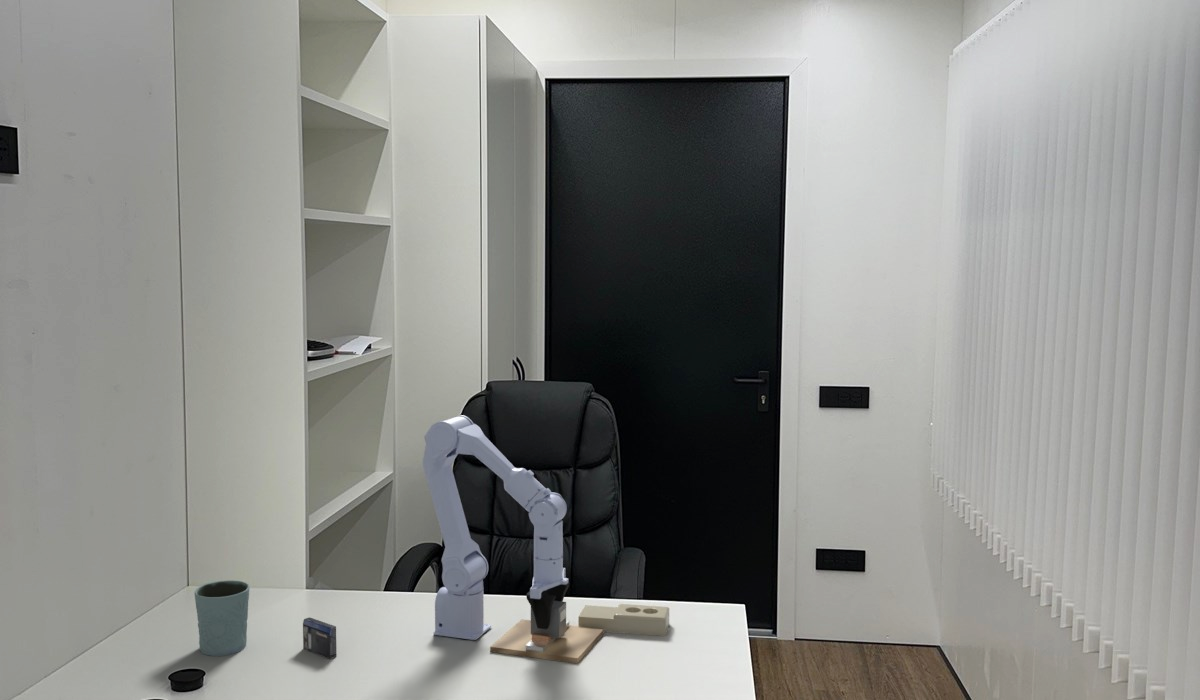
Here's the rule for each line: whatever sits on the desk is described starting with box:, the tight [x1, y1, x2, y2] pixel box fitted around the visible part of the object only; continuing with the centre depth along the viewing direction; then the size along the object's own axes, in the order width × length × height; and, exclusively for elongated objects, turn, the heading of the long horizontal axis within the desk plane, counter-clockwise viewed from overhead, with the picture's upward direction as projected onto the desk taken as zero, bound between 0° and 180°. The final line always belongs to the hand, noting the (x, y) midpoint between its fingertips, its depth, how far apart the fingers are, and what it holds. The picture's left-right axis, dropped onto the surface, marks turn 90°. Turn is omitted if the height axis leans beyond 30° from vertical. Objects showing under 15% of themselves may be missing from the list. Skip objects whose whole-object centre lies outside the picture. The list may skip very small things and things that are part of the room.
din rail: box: [526, 620, 570, 652], centre depth 203 cm, size 4×15×2 cm, turn 162°
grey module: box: [530, 601, 567, 638], centre depth 203 cm, size 6×4×6 cm, turn 72°
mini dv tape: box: [302, 616, 338, 660], centre depth 197 cm, size 8×2×6 cm, turn 53°
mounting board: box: [489, 619, 605, 664], centre depth 203 cm, size 18×16×1 cm
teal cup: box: [194, 579, 251, 657], centre depth 199 cm, size 10×10×12 cm
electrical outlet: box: [577, 603, 670, 637], centre depth 212 cm, size 7×4×18 cm
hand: (548, 623), depth 203 cm, fingers open, 5 cm apart
